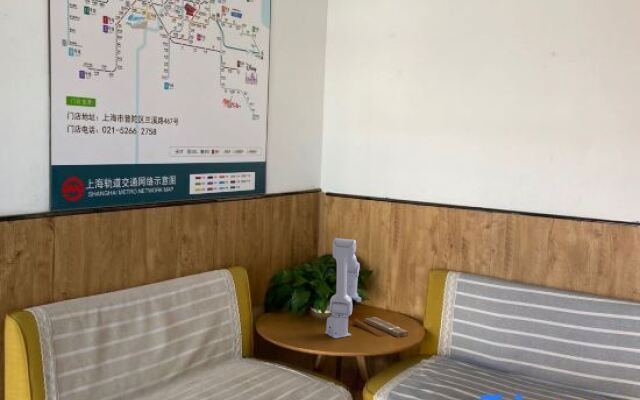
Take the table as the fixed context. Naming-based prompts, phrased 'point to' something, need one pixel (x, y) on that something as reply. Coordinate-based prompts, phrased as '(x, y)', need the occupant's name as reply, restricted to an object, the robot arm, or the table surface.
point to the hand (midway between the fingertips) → (349, 312)
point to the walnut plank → (386, 327)
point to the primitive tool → (368, 328)
